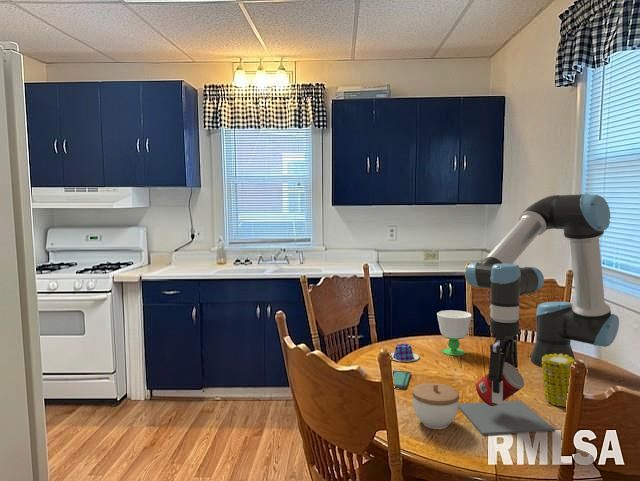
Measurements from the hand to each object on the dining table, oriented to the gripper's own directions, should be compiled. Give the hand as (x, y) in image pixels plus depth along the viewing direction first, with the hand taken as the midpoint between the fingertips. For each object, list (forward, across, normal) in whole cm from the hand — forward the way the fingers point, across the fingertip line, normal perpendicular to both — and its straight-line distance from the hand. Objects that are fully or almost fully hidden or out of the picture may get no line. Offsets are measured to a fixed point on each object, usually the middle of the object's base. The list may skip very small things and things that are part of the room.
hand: (503, 398), depth 132 cm
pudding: (+6, -26, -50) cm, 56 cm away
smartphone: (+6, -4, -38) cm, 38 cm away
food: (+6, -22, +9) cm, 24 cm away
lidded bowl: (+6, +16, -13) cm, 21 cm away
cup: (+6, -45, -38) cm, 59 cm away
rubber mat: (+6, 0, 0) cm, 6 cm away
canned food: (0, 0, -5) cm, 5 cm away
